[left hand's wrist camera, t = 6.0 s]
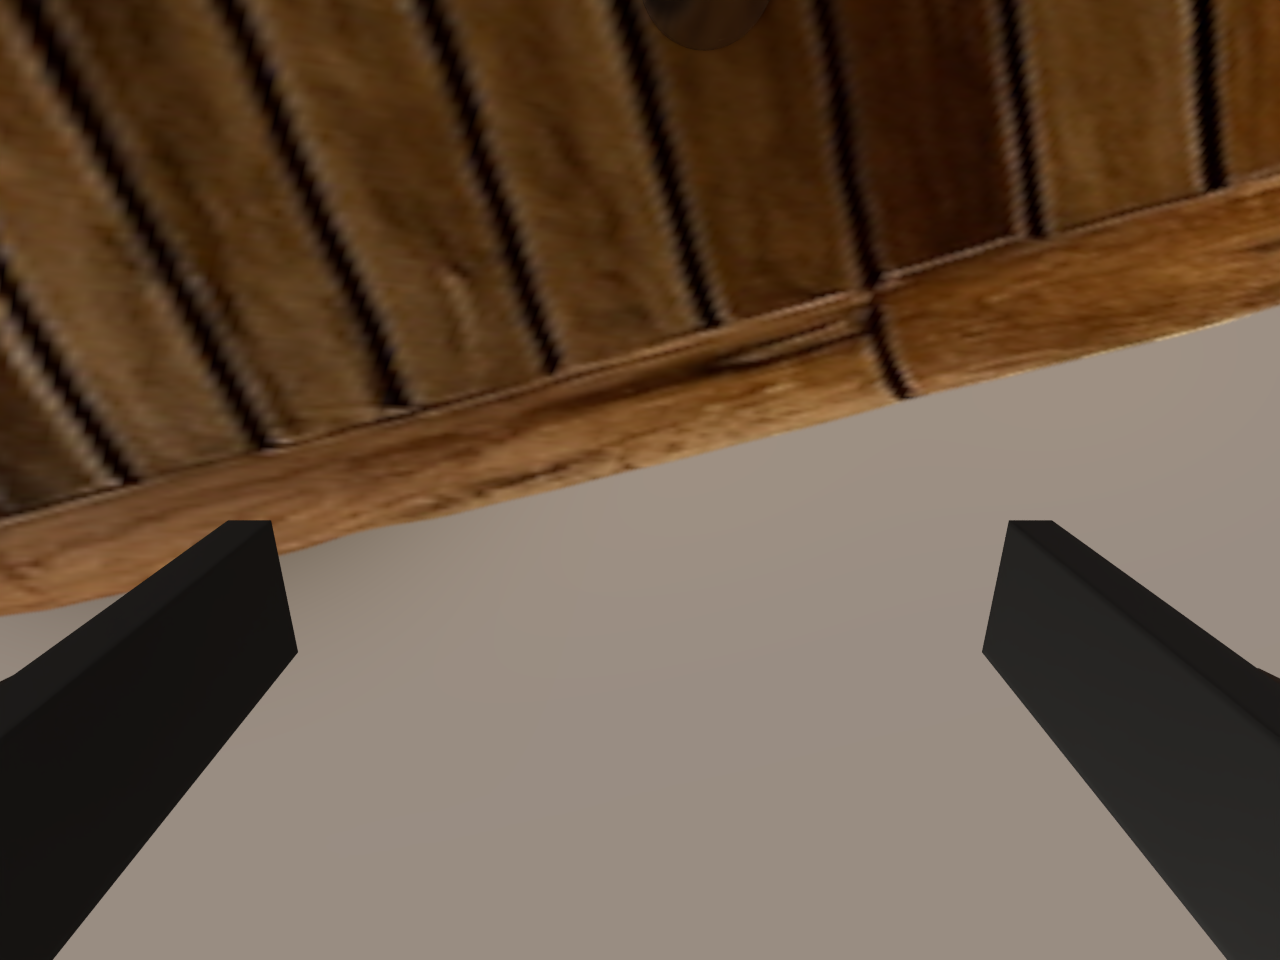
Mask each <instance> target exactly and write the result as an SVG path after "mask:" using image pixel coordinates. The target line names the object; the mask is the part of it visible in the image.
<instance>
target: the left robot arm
mask: <svg viewBox="0 0 1280 960" xmlns="http://www.w3.org/2000/svg"><path fill="white" fill-rule="evenodd" d="M297 653H298V650H297V645H296V640H295V635H294V630H293V625H292V621H291V616H290V611H289V606H288V601H287V596H286V591H285V586H284V581H283V577H282V572H281V567H280V562H279V557H278V552H277V547H276V542H275V537H274V533H273V528H272V523H271V520H228V521H227V522H225V523H224V524H222V525H221V526H220V527H218V528H217V529H215V530H214V531H213V532H211V533H210V534H209V535H207V536H206V537H204V538H203V539H202V540H200V541H199V542H197V543H196V544H195V545H193V546H192V547H191V548H189V549H188V550H186V551H185V552H184V553H182V554H181V555H179V556H178V557H177V558H175V559H174V560H173V561H171V562H170V563H168V564H167V565H166V566H164V567H163V568H161V569H160V570H159V571H157V572H156V573H154V574H153V575H152V576H150V577H149V578H148V579H146V580H145V581H143V582H142V583H141V584H139V585H138V586H136V587H135V588H134V589H132V590H131V591H130V592H128V593H127V594H125V595H124V596H123V597H121V598H120V599H119V600H117V601H116V602H114V603H113V604H112V605H110V606H109V607H107V608H106V609H105V610H103V611H102V612H100V613H99V614H98V615H96V616H95V617H94V618H92V619H91V620H89V621H88V622H87V623H85V624H84V625H82V626H81V627H80V628H78V629H77V630H76V631H74V632H73V633H71V634H70V635H69V636H67V637H66V638H64V639H63V640H62V641H60V642H59V643H58V644H56V645H55V646H53V647H52V648H51V649H49V650H48V651H46V652H45V653H44V654H42V655H41V656H39V657H38V658H37V659H35V660H34V661H32V662H31V663H30V664H28V665H27V666H26V667H24V668H23V669H22V670H20V671H19V672H17V673H16V674H14V675H13V676H11V677H9V678H7V679H5V680H3V681H1V682H0V960H53V959H54V957H55V956H56V955H57V954H58V952H59V951H60V950H61V949H62V947H63V946H64V945H65V944H66V942H67V941H68V940H69V939H70V937H71V936H72V935H73V934H74V932H75V931H76V930H77V929H78V927H79V926H80V925H81V924H82V922H83V921H84V920H85V918H86V917H87V916H88V915H89V913H90V912H91V911H92V910H93V909H94V907H95V906H96V905H97V904H98V902H99V901H100V900H101V899H102V897H103V896H104V895H105V894H106V892H107V891H108V890H109V889H110V887H111V886H112V885H113V883H114V882H115V881H116V880H117V878H118V877H119V876H120V875H121V873H122V872H123V871H124V870H125V868H126V867H127V866H128V865H129V863H130V862H131V861H132V860H133V858H134V857H135V856H136V855H137V853H138V852H139V851H140V850H141V848H142V847H143V846H144V845H145V843H146V842H147V841H148V840H149V838H150V837H151V836H152V835H153V833H154V832H155V831H156V830H157V828H158V827H159V826H160V825H161V823H162V822H163V821H164V820H165V818H166V817H167V816H168V815H169V813H170V812H171V811H172V810H173V808H174V807H175V806H176V804H177V803H178V802H179V801H180V799H181V798H182V797H183V796H184V794H185V793H186V792H187V791H188V789H189V788H190V787H191V786H192V784H193V783H194V782H195V781H196V779H197V778H198V777H199V776H200V774H201V773H202V772H203V771H204V769H205V768H206V767H207V766H208V764H209V763H210V762H211V761H212V759H213V758H214V757H215V756H216V754H217V753H218V752H219V750H220V749H221V748H222V747H223V745H224V744H225V743H226V742H227V740H228V739H229V738H230V737H231V735H232V734H233V733H234V732H235V731H236V729H237V728H238V727H239V725H240V724H241V723H242V722H243V720H244V719H245V718H246V717H247V715H248V714H249V713H250V712H251V710H252V709H253V708H254V707H255V705H256V704H257V703H258V702H259V700H260V699H261V698H262V697H263V695H264V694H265V693H266V692H267V690H268V689H269V688H270V687H271V685H272V684H273V683H274V681H275V680H276V679H277V678H278V677H279V675H280V674H281V673H282V672H283V670H284V669H285V668H286V667H287V665H288V664H289V663H290V662H291V660H292V659H293V658H294V657H295V655H296V654H297ZM982 653H983V654H984V655H985V656H986V658H987V659H988V660H989V662H990V663H991V664H992V665H993V666H994V668H995V669H996V670H997V672H998V673H999V674H1000V675H1001V676H1002V678H1003V679H1004V680H1005V682H1006V683H1007V684H1008V685H1009V687H1010V688H1011V689H1012V690H1013V692H1014V693H1015V694H1016V695H1017V697H1018V698H1019V699H1020V700H1021V702H1022V703H1023V704H1024V705H1025V707H1026V708H1027V709H1028V710H1029V712H1030V713H1031V714H1032V715H1033V717H1034V718H1035V719H1036V720H1037V722H1038V723H1039V724H1040V725H1041V727H1042V728H1043V729H1044V730H1045V732H1046V733H1047V734H1048V735H1049V737H1050V738H1051V739H1052V741H1053V742H1054V743H1055V744H1056V745H1057V747H1058V748H1059V749H1060V751H1061V752H1062V753H1063V754H1064V756H1065V757H1066V758H1067V759H1068V761H1069V762H1070V763H1071V764H1072V766H1073V767H1074V768H1075V769H1076V771H1077V772H1078V773H1079V774H1080V776H1081V777H1082V778H1083V779H1084V781H1085V782H1086V783H1087V784H1088V786H1089V787H1090V788H1091V789H1092V791H1093V792H1094V793H1095V794H1096V796H1097V797H1098V798H1099V799H1100V801H1101V802H1102V803H1103V804H1104V806H1105V807H1106V808H1107V810H1108V811H1109V812H1110V813H1111V815H1112V816H1113V817H1114V818H1115V820H1116V821H1117V822H1118V823H1119V825H1120V826H1121V827H1122V828H1123V829H1124V831H1125V832H1126V833H1127V835H1128V836H1129V837H1130V838H1131V840H1132V841H1133V842H1134V843H1135V845H1136V846H1137V847H1138V848H1139V850H1140V851H1141V852H1142V853H1143V855H1144V856H1145V857H1146V858H1147V860H1148V861H1149V862H1150V863H1151V865H1152V866H1153V867H1154V868H1155V870H1156V871H1157V872H1158V873H1159V875H1160V876H1161V877H1162V878H1163V880H1164V881H1165V882H1166V883H1167V885H1168V886H1169V887H1170V888H1171V890H1172V891H1173V892H1174V894H1175V895H1176V896H1177V897H1178V899H1179V900H1180V901H1181V902H1182V904H1183V905H1184V906H1185V907H1186V909H1187V910H1188V911H1189V912H1190V913H1191V915H1192V916H1193V917H1194V919H1195V920H1196V921H1197V922H1198V924H1199V925H1200V926H1201V927H1202V929H1203V930H1204V931H1205V932H1206V934H1207V935H1208V936H1209V937H1210V939H1211V940H1212V941H1213V942H1214V944H1215V945H1216V946H1217V947H1218V949H1219V950H1220V951H1221V952H1222V954H1223V955H1224V956H1225V957H1226V959H1227V960H1280V678H1278V677H1276V676H1274V675H1271V674H1269V673H1267V672H1265V671H1263V670H1261V669H1259V668H1256V667H1254V666H1253V665H1252V664H1250V663H1249V662H1247V661H1246V660H1245V659H1243V658H1242V657H1241V656H1239V655H1238V654H1236V653H1235V652H1234V651H1232V650H1231V649H1229V648H1228V647H1227V646H1225V645H1224V644H1223V643H1221V642H1220V641H1218V640H1217V639H1216V638H1214V637H1213V636H1211V635H1210V634H1209V633H1207V632H1206V631H1205V630H1203V629H1202V628H1200V627H1199V626H1198V625H1196V624H1195V623H1193V622H1192V621H1191V620H1189V619H1188V618H1187V617H1185V616H1184V615H1182V614H1181V613H1180V612H1178V611H1177V610H1175V609H1174V608H1173V607H1171V606H1170V605H1168V604H1167V603H1166V602H1164V601H1163V600H1161V599H1160V598H1159V597H1157V596H1156V595H1155V594H1153V593H1152V592H1150V591H1149V590H1148V589H1146V588H1145V587H1144V586H1142V585H1141V584H1139V583H1138V582H1136V581H1135V580H1134V579H1132V578H1131V577H1130V576H1128V575H1127V574H1126V573H1124V572H1123V571H1121V570H1120V569H1119V568H1117V567H1116V566H1114V565H1113V564H1112V563H1110V562H1109V561H1107V560H1106V559H1105V558H1103V557H1102V556H1101V555H1099V554H1098V553H1096V552H1095V551H1094V550H1092V549H1091V548H1089V547H1088V546H1087V545H1085V544H1084V543H1083V542H1081V541H1080V540H1078V539H1077V538H1076V537H1074V536H1073V535H1071V534H1070V533H1069V532H1067V531H1066V530H1065V529H1063V528H1062V527H1060V526H1059V525H1058V524H1056V523H1055V522H1053V521H1051V520H1045V521H1043V520H1042V521H1041V520H1040V521H1038V520H1035V521H1033V520H1032V521H1031V520H1029V521H1027V520H1026V521H1025V520H1016V521H1015V520H1013V521H1012V520H1010V521H1009V523H1008V528H1007V533H1006V537H1005V542H1004V547H1003V552H1002V557H1001V562H1000V567H999V572H998V577H997V581H996V586H995V591H994V596H993V601H992V606H991V611H990V616H989V621H988V626H987V630H986V635H985V640H984V645H983V650H982Z"/></svg>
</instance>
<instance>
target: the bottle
mask: <svg viewBox="0 0 1280 960" xmlns="http://www.w3.org/2000/svg"><path fill="white" fill-rule="evenodd" d="M768 2H769V0H643V3H644V5H645V8H646V10H647V12H648V14H649V16H650V18H651V19H652V21H653V22H654V24H655V25H656V26H657V28H658V29H659V30H660V31H661V32H662V33H663V34H664V35H665V36H667V37H668V38H669V39H671V40H672V41H674V42H675V43H677V44H679V45H681V46H684V47H686V48H690V49H695V50H714V49H718V48H722V47H725V46H727V45H730V44H732V43H734V42H735V41H737V40H739V39H740V38H741V37H743V36H744V35H745V34H746V33H747V32H748V31H749V30H750V29H751V28H752V27H753V26H754V25H755V24H756V22H757V21H758V20H759V18H760V17H761V15H762V13H763V12H764V10H765V8H766V6H767V4H768Z"/></svg>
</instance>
